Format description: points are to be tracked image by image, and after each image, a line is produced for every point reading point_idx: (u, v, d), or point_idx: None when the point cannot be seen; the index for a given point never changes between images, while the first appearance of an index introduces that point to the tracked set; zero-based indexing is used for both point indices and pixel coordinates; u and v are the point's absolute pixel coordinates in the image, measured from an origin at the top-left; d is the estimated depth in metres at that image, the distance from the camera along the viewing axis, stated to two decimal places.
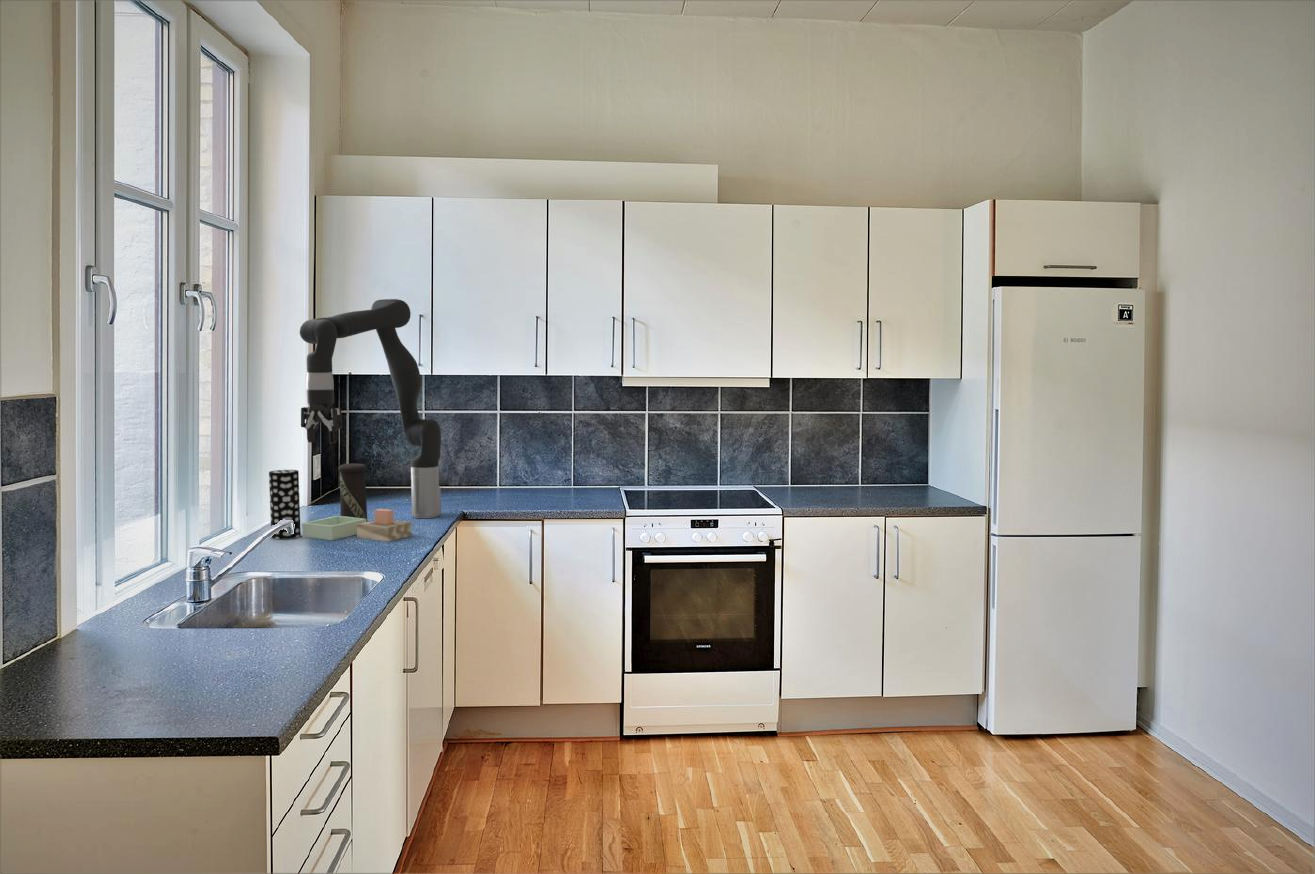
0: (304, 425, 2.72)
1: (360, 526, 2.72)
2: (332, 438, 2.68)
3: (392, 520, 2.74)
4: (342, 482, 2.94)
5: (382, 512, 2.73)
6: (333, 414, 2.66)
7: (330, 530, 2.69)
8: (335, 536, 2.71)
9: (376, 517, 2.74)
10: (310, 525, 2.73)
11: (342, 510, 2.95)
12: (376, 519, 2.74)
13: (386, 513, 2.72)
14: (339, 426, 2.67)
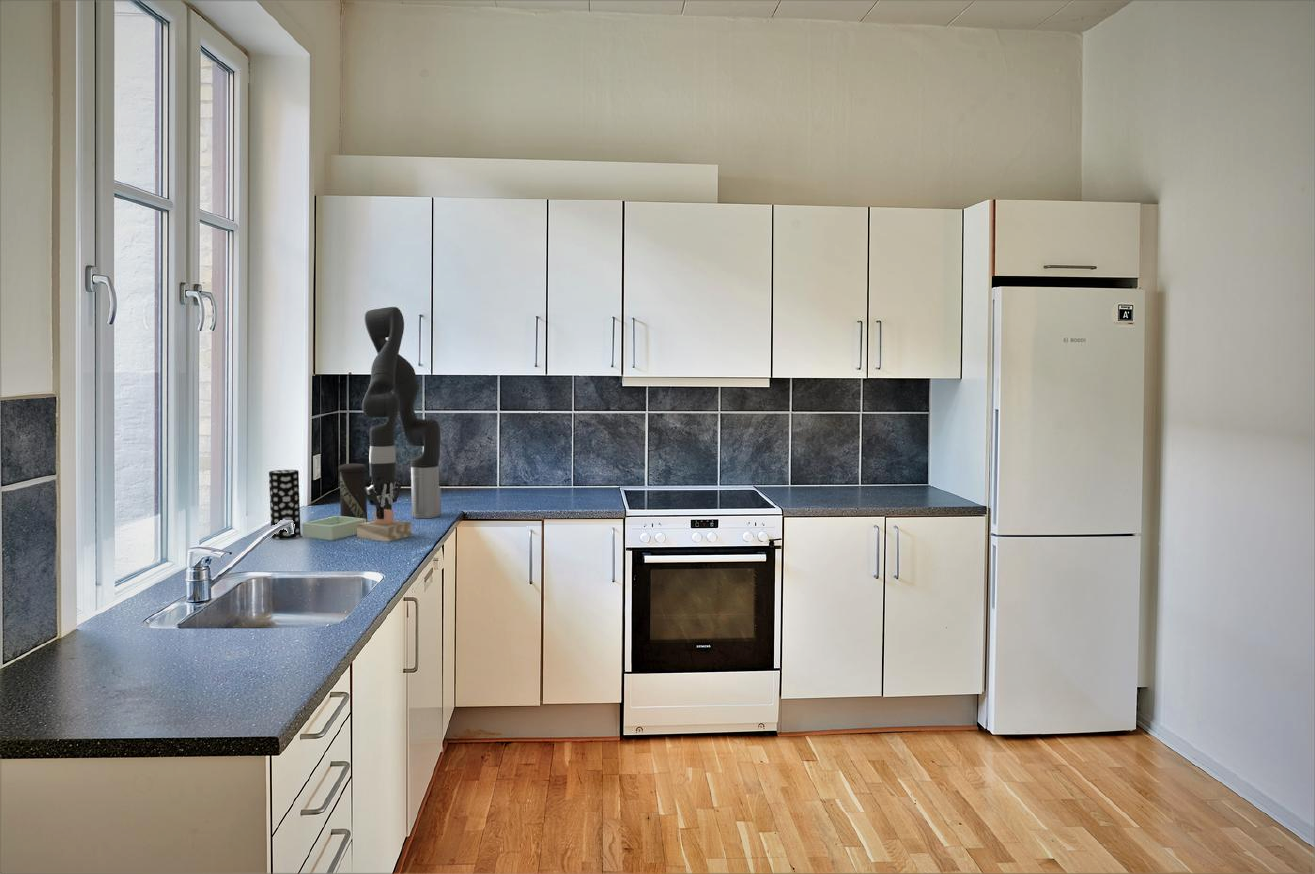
0: None
1: (360, 526, 2.72)
2: None
3: (392, 520, 2.74)
4: (342, 482, 2.94)
5: None
6: (398, 488, 2.78)
7: (330, 530, 2.69)
8: (335, 536, 2.71)
9: (376, 517, 2.74)
10: (310, 525, 2.73)
11: (342, 510, 2.95)
12: (376, 519, 2.74)
13: (386, 513, 2.72)
14: None
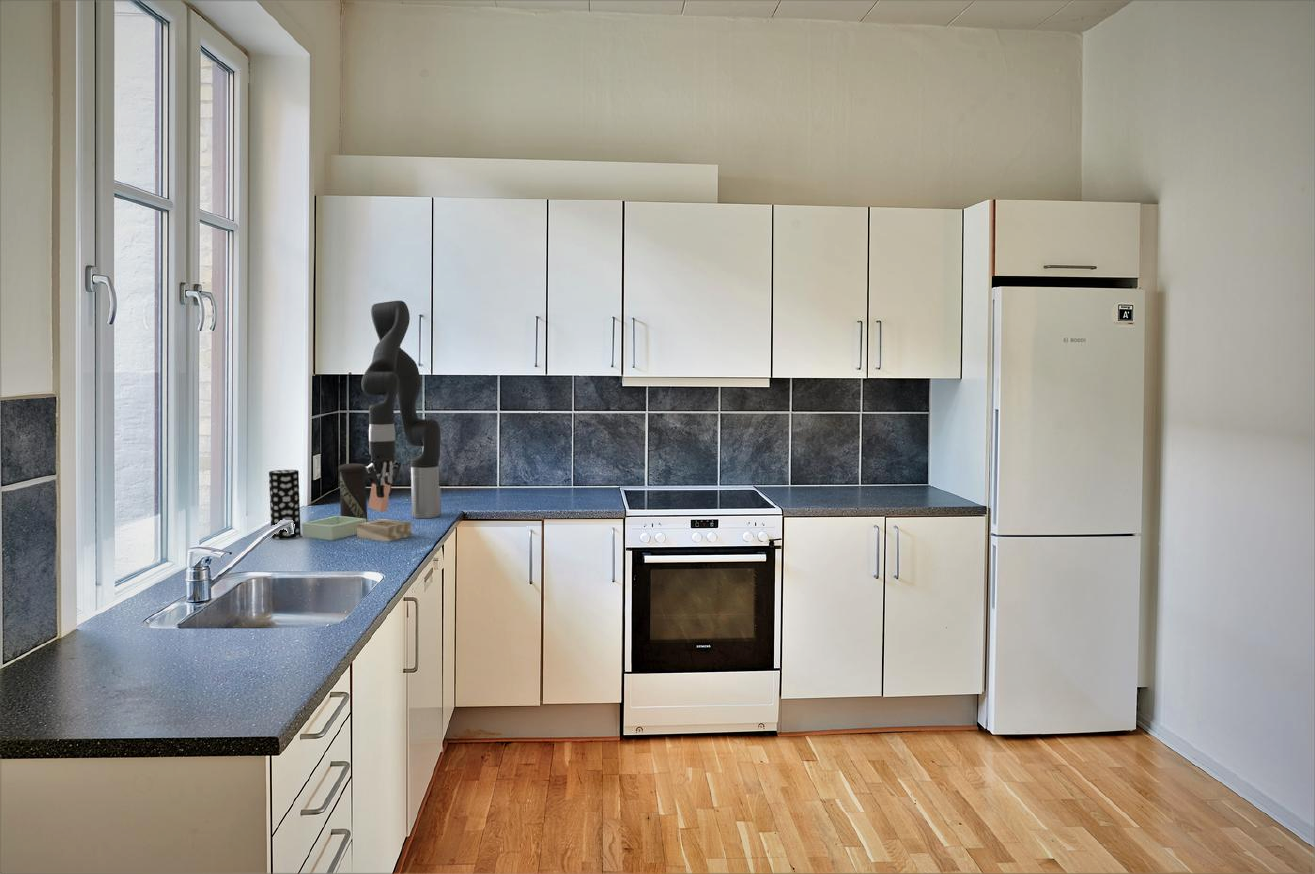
0: None
1: (360, 526, 2.72)
2: (390, 490, 2.75)
3: (388, 495, 2.74)
4: (342, 482, 2.94)
5: None
6: (398, 467, 2.77)
7: (330, 530, 2.69)
8: (335, 536, 2.71)
9: (372, 489, 2.74)
10: (310, 525, 2.73)
11: (342, 510, 2.95)
12: (372, 491, 2.74)
13: None
14: None
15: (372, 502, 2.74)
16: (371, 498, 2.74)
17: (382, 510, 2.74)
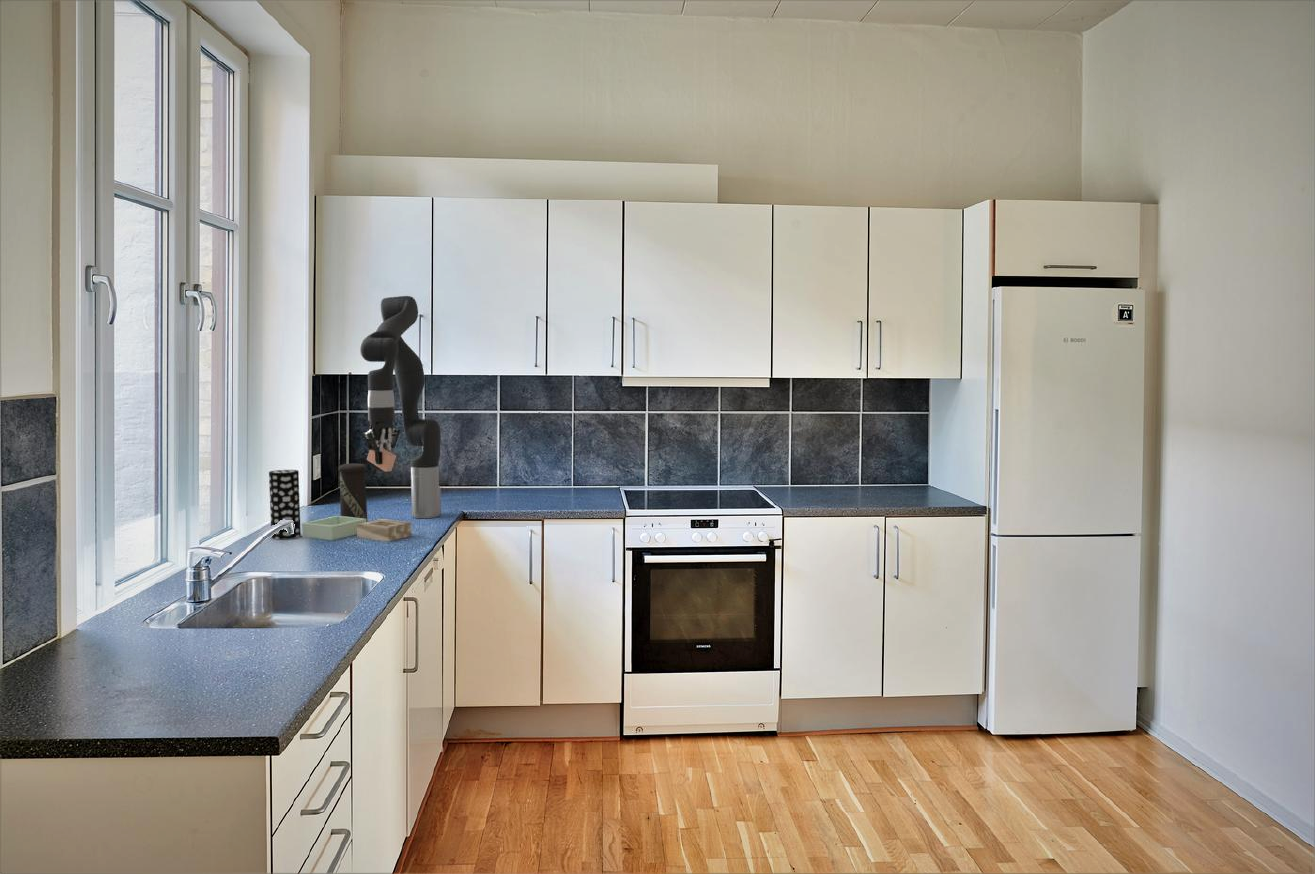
0: None
1: (360, 526, 2.72)
2: None
3: None
4: (342, 482, 2.94)
5: (386, 465, 2.71)
6: (397, 434, 2.76)
7: (330, 530, 2.69)
8: (335, 536, 2.71)
9: (384, 455, 2.71)
10: (310, 525, 2.73)
11: (342, 510, 2.95)
12: (382, 453, 2.71)
13: (384, 469, 2.71)
14: None
15: (374, 451, 2.72)
16: None
17: None
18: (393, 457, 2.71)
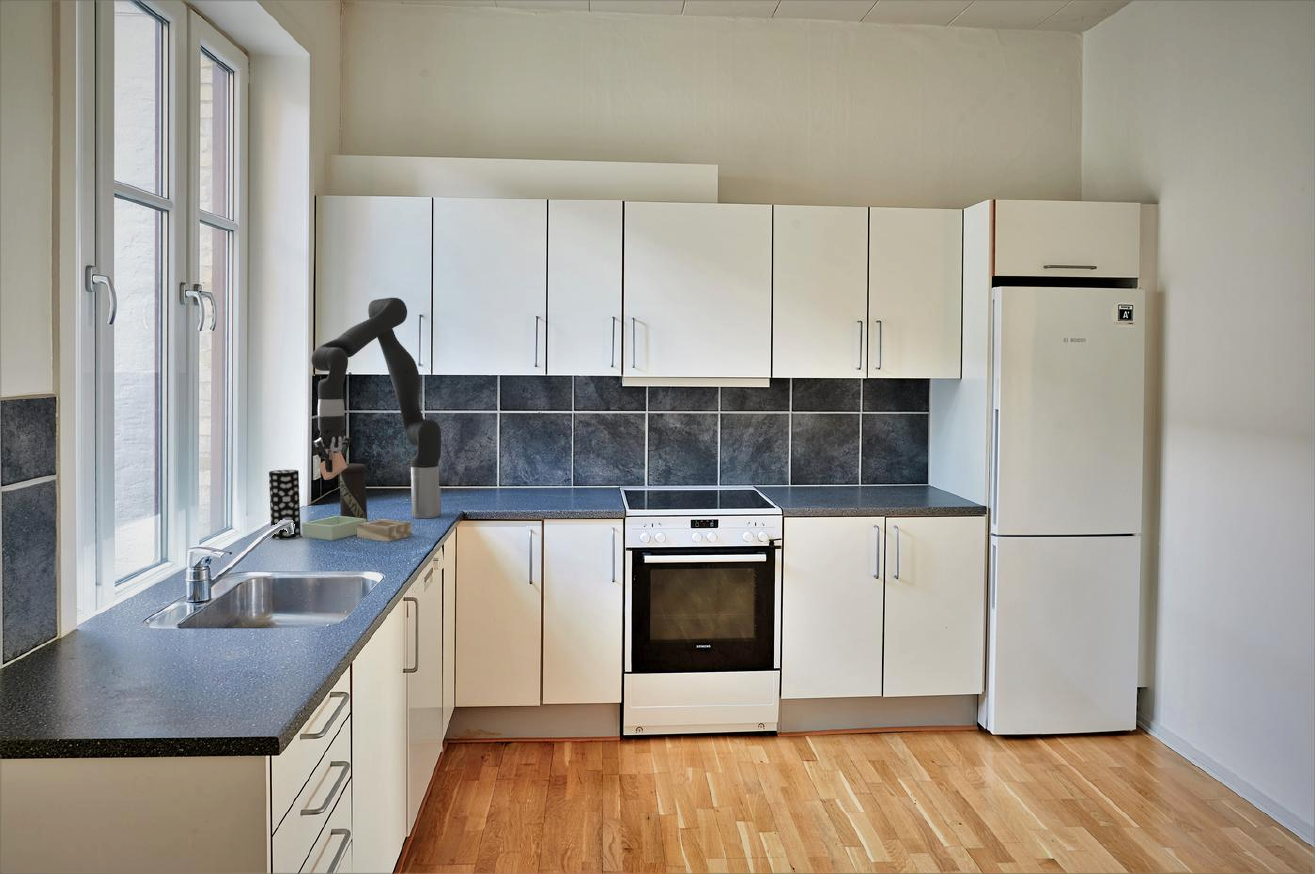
0: None
1: (360, 526, 2.72)
2: None
3: (339, 472, 2.76)
4: (342, 482, 2.94)
5: (337, 463, 2.74)
6: (348, 442, 2.80)
7: (330, 530, 2.69)
8: (335, 536, 2.71)
9: None
10: (310, 525, 2.73)
11: (342, 510, 2.95)
12: None
13: (339, 468, 2.74)
14: None
15: (323, 466, 2.76)
16: None
17: (327, 479, 2.77)
18: (339, 454, 2.75)
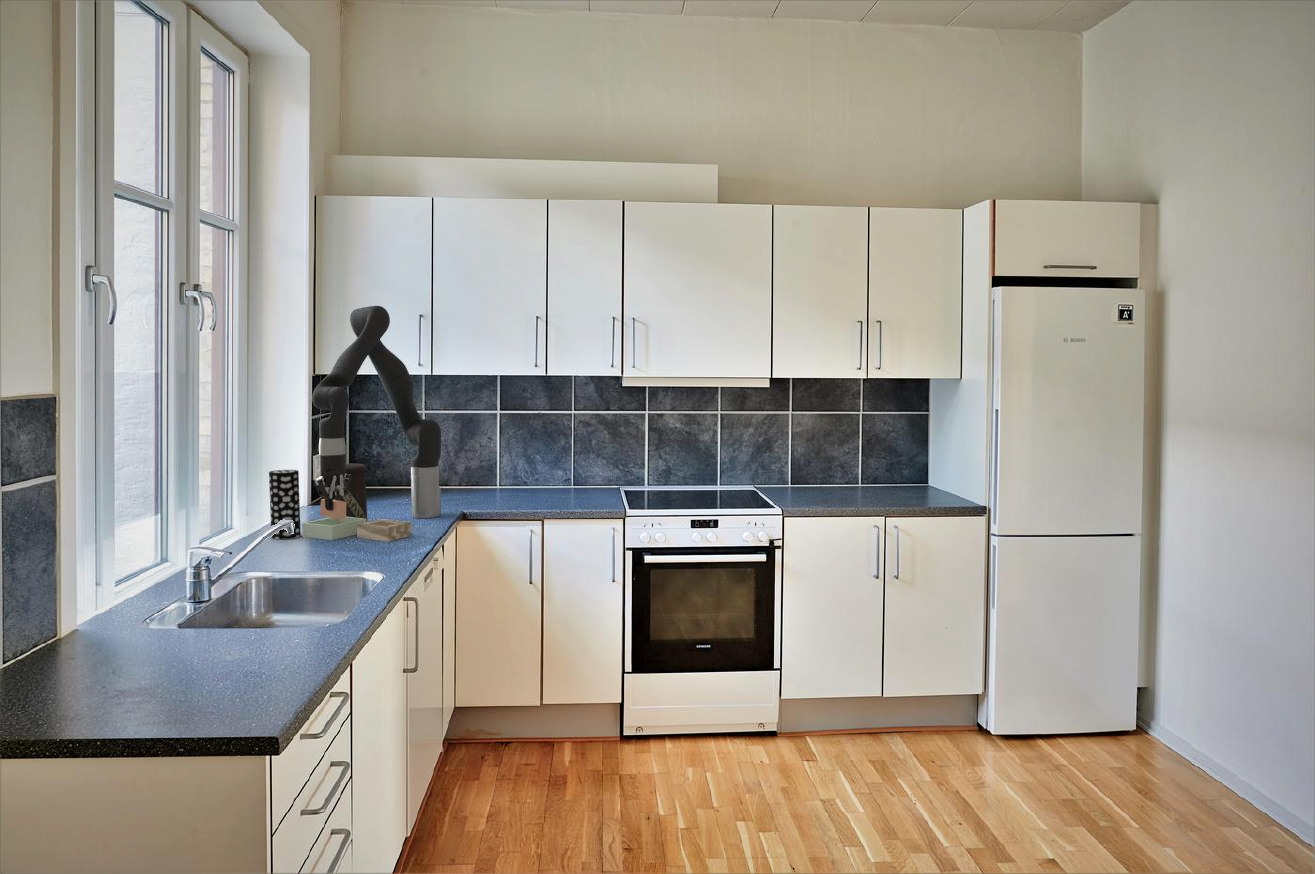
0: None
1: (360, 526, 2.72)
2: None
3: None
4: None
5: (338, 512, 2.75)
6: (349, 479, 2.81)
7: (330, 530, 2.69)
8: (335, 536, 2.71)
9: (334, 504, 2.76)
10: (310, 525, 2.73)
11: None
12: None
13: (338, 517, 2.75)
14: None
15: None
16: None
17: None
18: (343, 503, 2.76)
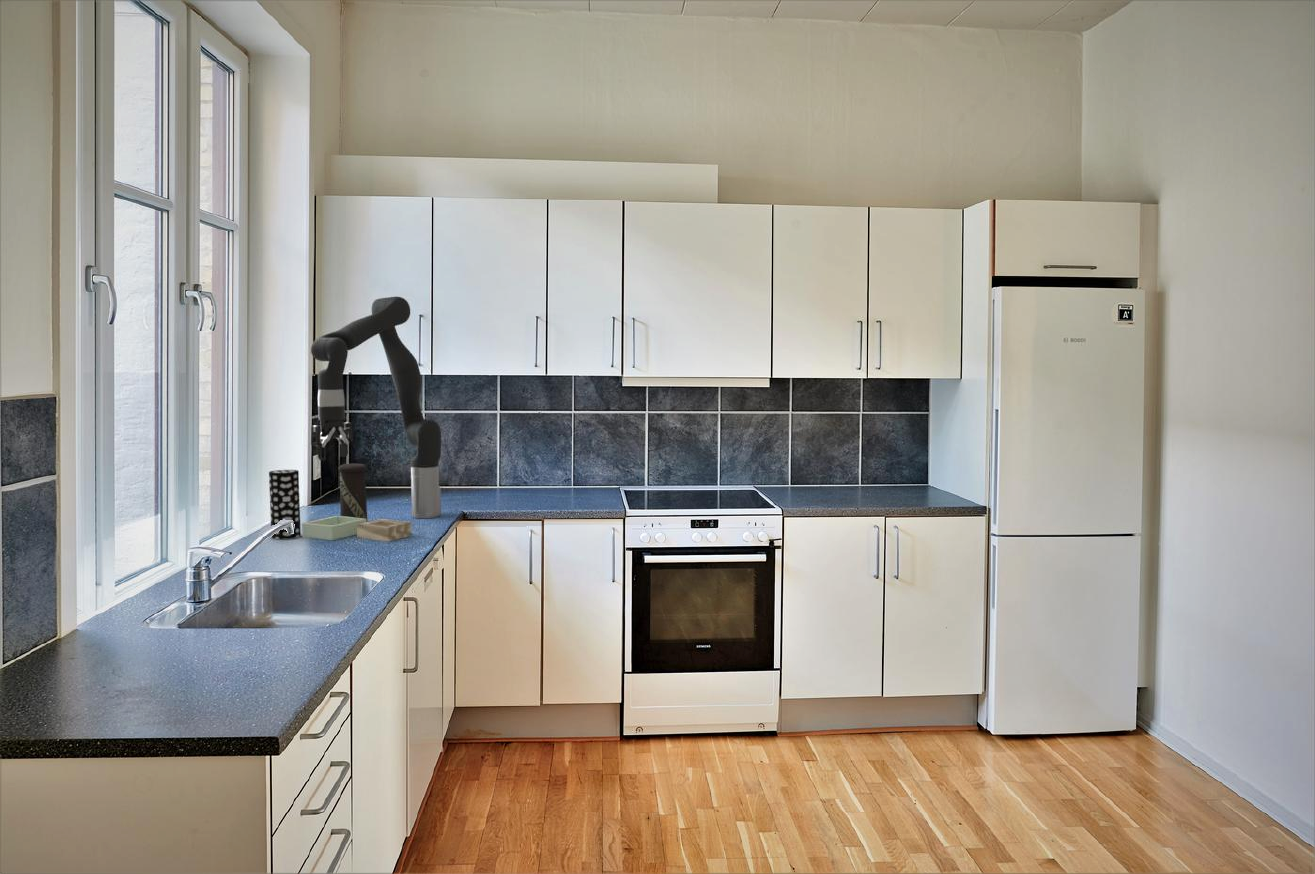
0: None
1: (360, 526, 2.72)
2: (347, 451, 2.80)
3: None
4: (342, 482, 2.94)
5: None
6: (350, 428, 2.80)
7: (330, 530, 2.69)
8: (335, 536, 2.71)
9: None
10: (310, 525, 2.73)
11: (342, 510, 2.95)
12: None
13: None
14: None
15: None
16: None
17: None
18: None
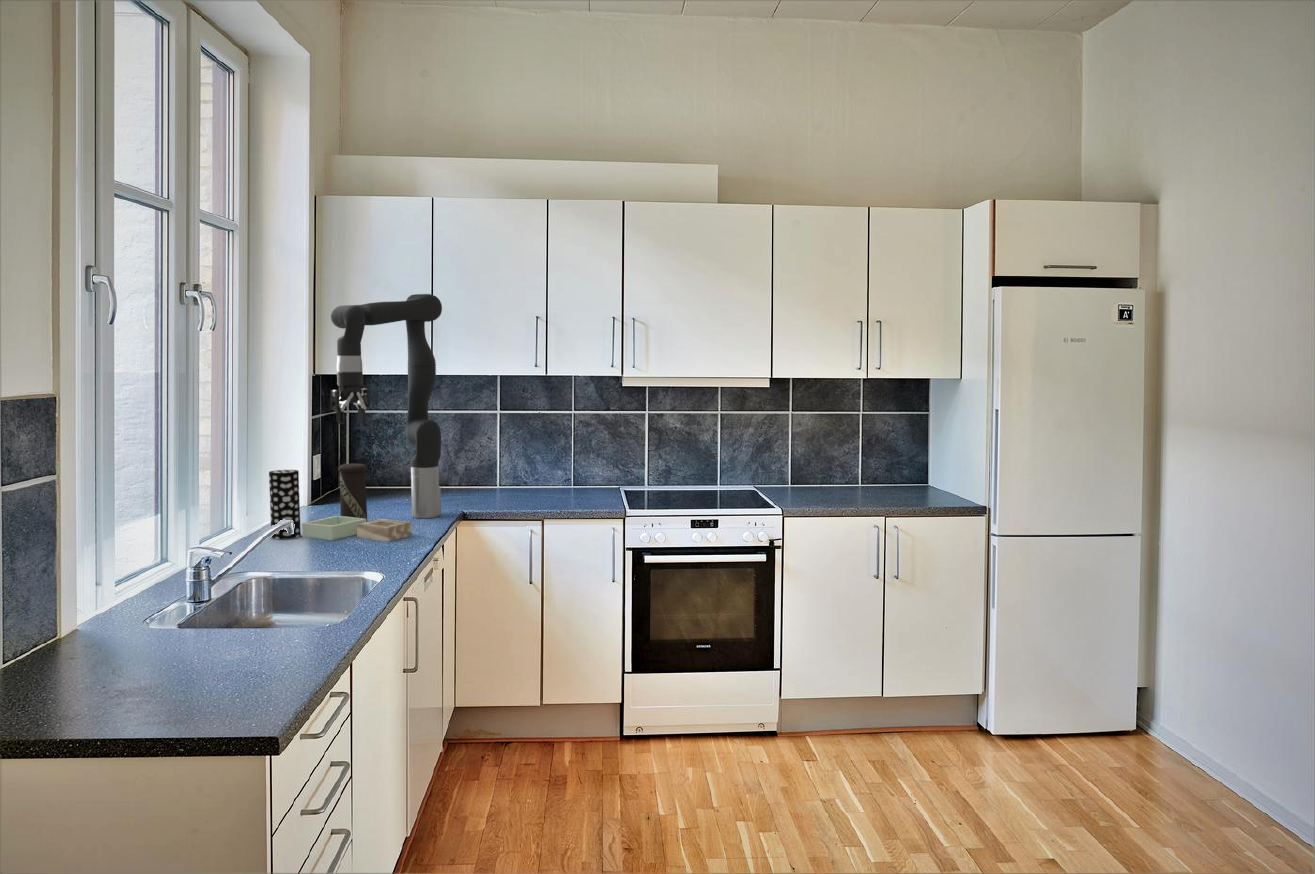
0: None
1: (360, 526, 2.72)
2: (364, 416, 2.89)
3: None
4: (342, 482, 2.94)
5: None
6: (367, 394, 2.89)
7: (330, 530, 2.69)
8: (335, 536, 2.71)
9: None
10: (310, 525, 2.73)
11: (342, 510, 2.95)
12: None
13: None
14: None
15: None
16: None
17: None
18: None
